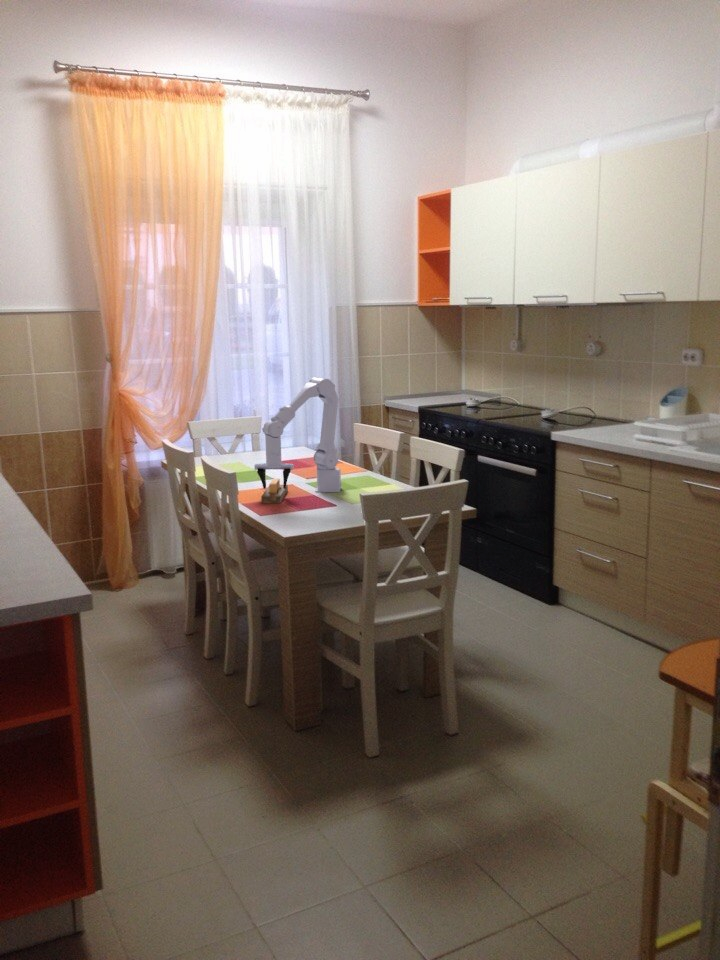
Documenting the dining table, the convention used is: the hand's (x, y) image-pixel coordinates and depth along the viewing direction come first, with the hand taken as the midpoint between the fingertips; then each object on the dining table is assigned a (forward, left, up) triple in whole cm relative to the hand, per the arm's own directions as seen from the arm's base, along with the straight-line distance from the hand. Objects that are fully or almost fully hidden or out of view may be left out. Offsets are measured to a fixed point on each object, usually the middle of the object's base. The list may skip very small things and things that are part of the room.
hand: (274, 488), depth 313 cm
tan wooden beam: (0, 0, -3) cm, 3 cm away
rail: (0, 0, -3) cm, 3 cm away
